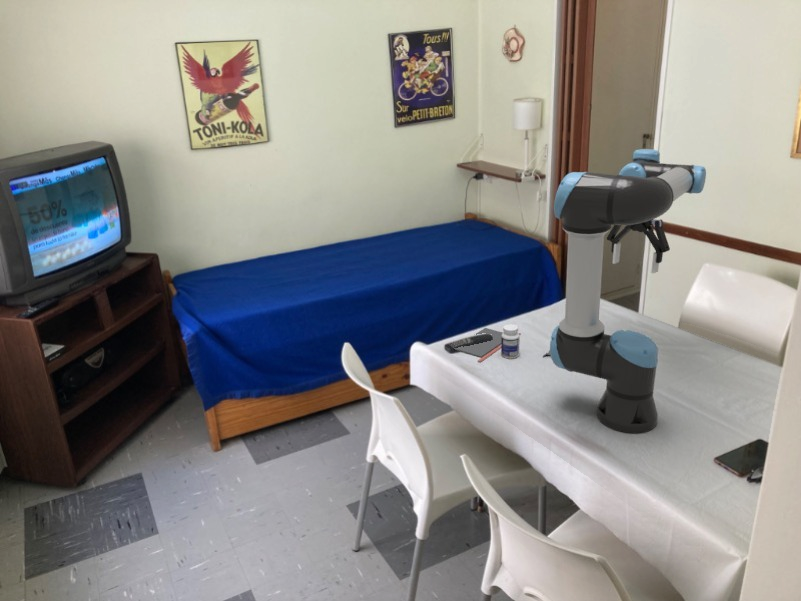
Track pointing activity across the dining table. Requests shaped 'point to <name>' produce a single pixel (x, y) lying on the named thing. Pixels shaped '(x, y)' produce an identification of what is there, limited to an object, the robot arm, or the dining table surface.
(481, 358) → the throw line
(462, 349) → the mat
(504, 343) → the pill bottle
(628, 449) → the dining table surface
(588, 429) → the dining table surface
